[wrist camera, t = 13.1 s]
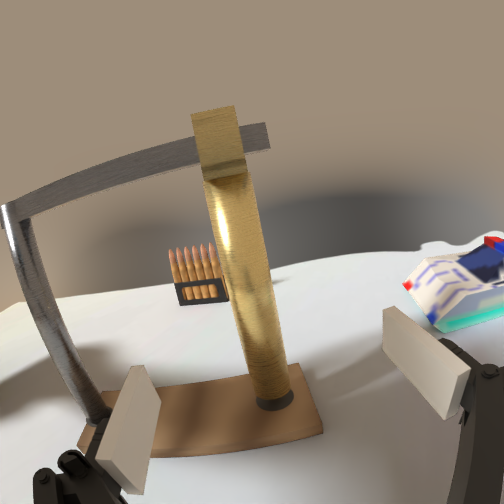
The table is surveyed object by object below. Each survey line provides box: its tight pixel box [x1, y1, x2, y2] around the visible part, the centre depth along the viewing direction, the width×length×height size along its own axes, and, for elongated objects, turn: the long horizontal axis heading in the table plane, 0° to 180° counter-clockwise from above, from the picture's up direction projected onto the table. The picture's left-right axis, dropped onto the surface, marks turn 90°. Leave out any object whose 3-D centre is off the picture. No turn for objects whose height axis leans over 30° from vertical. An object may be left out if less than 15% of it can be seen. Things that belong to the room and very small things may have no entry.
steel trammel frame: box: [0, 122, 270, 425], centre depth 23 cm, size 25×3×24 cm, turn 95°
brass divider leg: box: [191, 106, 291, 400], centre depth 23 cm, size 4×4×25 cm
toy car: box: [403, 236, 504, 333], centre depth 34 cm, size 17×30×9 cm, turn 81°
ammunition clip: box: [169, 242, 229, 306], centre depth 57 cm, size 11×2×12 cm, turn 79°
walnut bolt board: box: [77, 363, 323, 458], centre depth 26 cm, size 25×10×2 cm, turn 95°
